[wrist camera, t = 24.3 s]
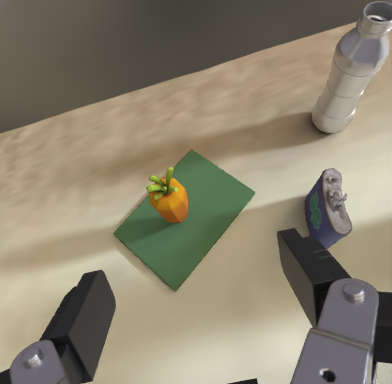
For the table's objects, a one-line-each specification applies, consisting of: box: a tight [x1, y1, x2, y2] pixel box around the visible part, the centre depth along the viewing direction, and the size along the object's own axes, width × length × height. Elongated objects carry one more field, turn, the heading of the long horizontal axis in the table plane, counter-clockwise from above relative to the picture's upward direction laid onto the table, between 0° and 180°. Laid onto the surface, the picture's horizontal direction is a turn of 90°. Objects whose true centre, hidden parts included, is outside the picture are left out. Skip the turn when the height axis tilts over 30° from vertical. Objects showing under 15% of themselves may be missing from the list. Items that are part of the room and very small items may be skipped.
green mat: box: [114, 149, 255, 291], centre depth 46 cm, size 14×20×1 cm
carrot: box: [146, 168, 188, 223], centre depth 38 cm, size 5×5×15 cm
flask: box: [305, 168, 352, 249], centre depth 38 cm, size 9×3×11 cm, turn 0°
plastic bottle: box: [312, 1, 392, 133], centre depth 41 cm, size 6×7×20 cm
